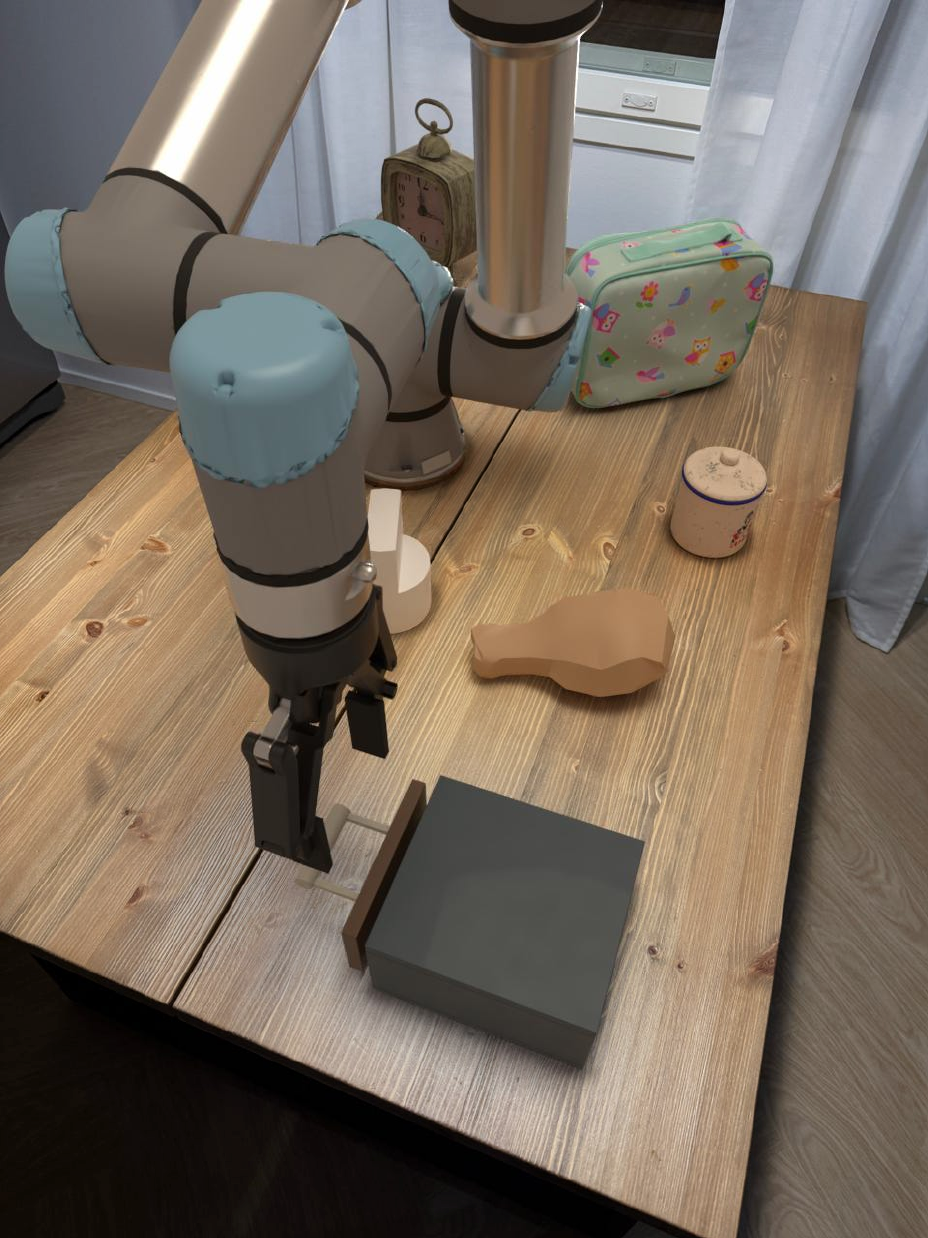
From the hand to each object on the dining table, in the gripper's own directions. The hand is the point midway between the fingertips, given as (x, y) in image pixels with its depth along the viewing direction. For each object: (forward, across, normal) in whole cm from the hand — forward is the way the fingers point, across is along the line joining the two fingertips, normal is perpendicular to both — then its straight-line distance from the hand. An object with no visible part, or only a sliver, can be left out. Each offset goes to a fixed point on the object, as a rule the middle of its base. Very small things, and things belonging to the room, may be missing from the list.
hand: (343, 803), depth 64 cm
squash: (+14, +28, -10) cm, 33 cm away
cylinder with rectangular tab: (+14, +30, +10) cm, 35 cm away
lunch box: (+14, +80, -7) cm, 82 cm away
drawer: (+13, 0, -7) cm, 15 cm away
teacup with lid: (+14, +54, -20) cm, 60 cm away
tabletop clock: (+14, +98, +31) cm, 104 cm away
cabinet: (+13, 0, -13) cm, 19 cm away
